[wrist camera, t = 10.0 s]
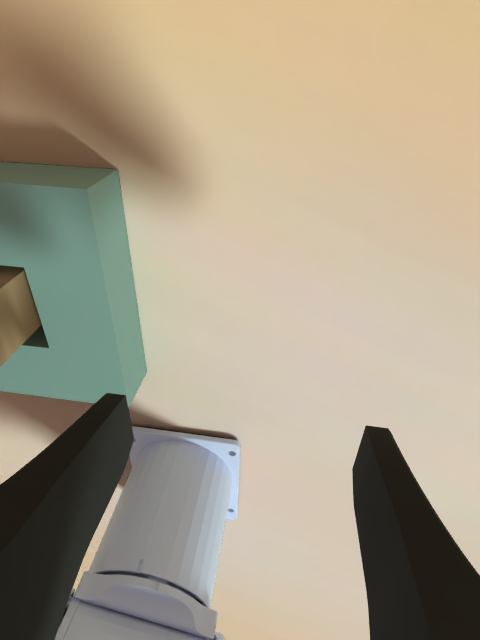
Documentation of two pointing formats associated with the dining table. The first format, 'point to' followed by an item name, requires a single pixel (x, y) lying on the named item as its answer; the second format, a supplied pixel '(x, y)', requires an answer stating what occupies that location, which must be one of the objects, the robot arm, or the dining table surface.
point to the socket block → (71, 282)
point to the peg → (15, 311)
